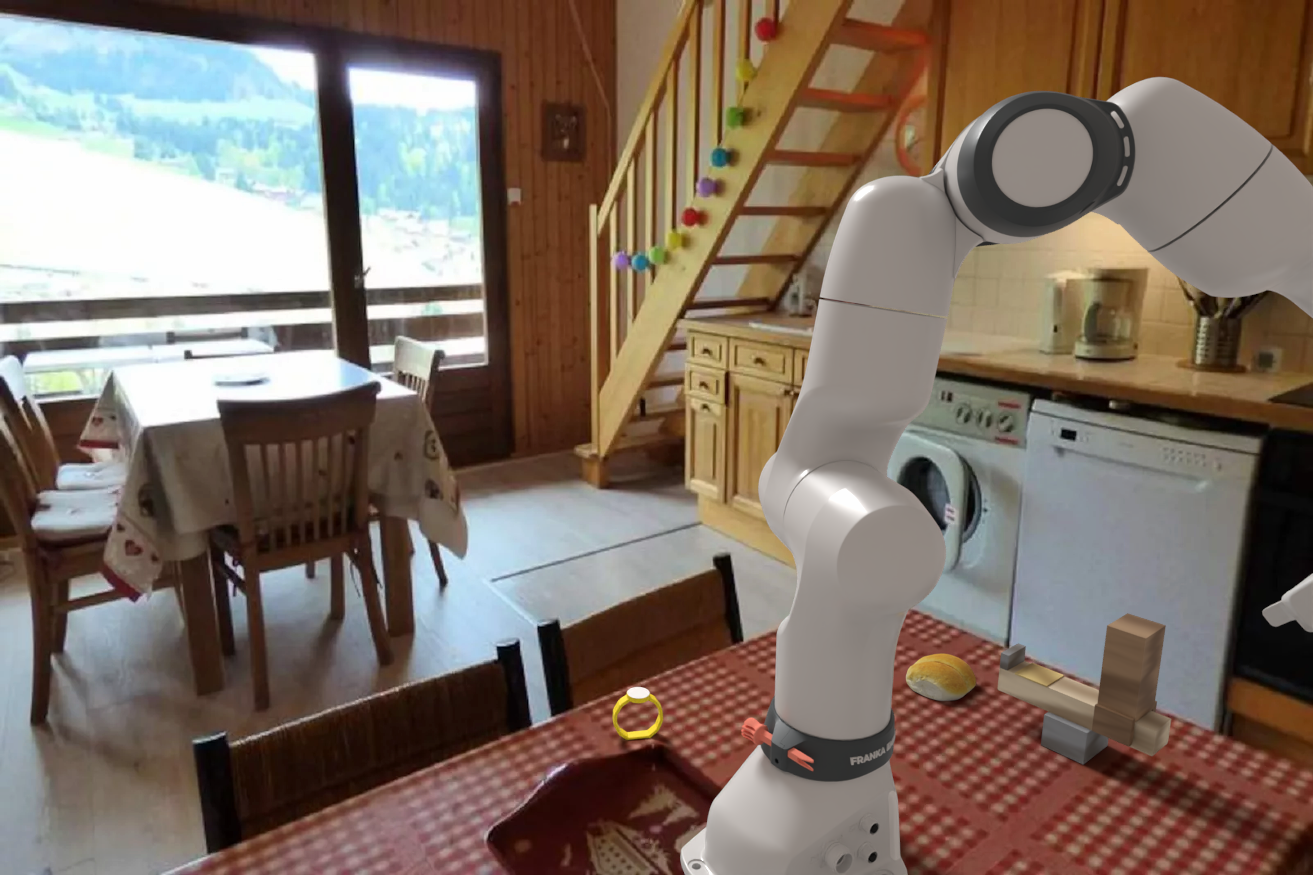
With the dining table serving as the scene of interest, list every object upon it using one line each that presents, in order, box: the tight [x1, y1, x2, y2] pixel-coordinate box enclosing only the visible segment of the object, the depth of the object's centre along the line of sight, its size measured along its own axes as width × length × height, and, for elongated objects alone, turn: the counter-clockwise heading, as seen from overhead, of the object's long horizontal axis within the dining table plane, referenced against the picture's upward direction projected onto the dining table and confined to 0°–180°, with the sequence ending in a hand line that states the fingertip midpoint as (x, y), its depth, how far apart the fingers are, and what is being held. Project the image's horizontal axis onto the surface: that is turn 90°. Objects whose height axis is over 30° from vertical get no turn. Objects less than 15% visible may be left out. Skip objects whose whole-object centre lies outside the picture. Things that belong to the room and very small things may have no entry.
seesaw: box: [997, 642, 1172, 765], centre depth 100 cm, size 6×18×9 cm, turn 38°
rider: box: [1092, 613, 1167, 747], centre depth 95 cm, size 6×4×13 cm, turn 128°
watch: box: [612, 686, 664, 741], centre depth 103 cm, size 6×3×6 cm, turn 100°
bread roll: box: [905, 653, 977, 702], centre depth 115 cm, size 8×9×4 cm
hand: (1278, 610), depth 83 cm, fingers open, 4 cm apart
